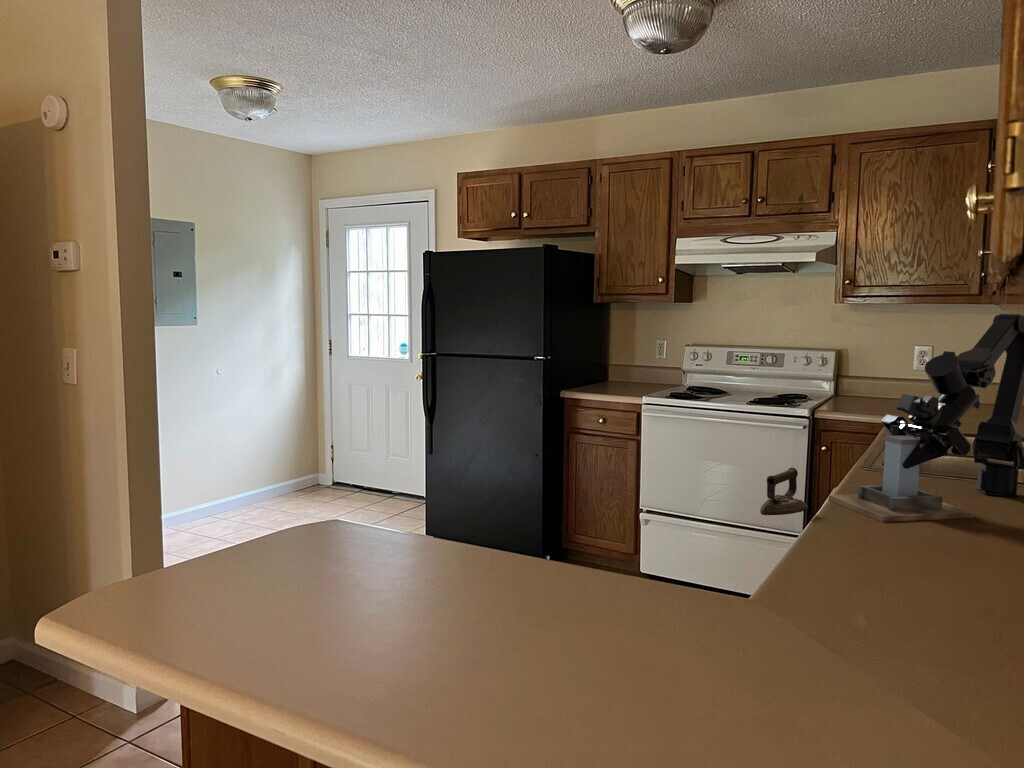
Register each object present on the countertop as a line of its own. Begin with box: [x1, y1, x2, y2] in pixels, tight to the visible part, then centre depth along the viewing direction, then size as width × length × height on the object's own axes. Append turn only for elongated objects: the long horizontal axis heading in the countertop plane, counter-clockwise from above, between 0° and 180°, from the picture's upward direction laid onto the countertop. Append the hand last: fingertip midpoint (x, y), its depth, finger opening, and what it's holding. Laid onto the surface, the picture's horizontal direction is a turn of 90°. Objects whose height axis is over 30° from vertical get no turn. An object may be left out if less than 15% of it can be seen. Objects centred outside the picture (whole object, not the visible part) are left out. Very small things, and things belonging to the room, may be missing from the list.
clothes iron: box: [759, 467, 809, 516], centre depth 143 cm, size 7×11×10 cm, turn 132°
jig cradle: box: [828, 484, 975, 523], centre depth 146 cm, size 20×16×4 cm
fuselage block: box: [882, 435, 921, 497], centre depth 146 cm, size 4×4×12 cm
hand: (895, 464), depth 145 cm, fingers closed on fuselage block, 4 cm apart
